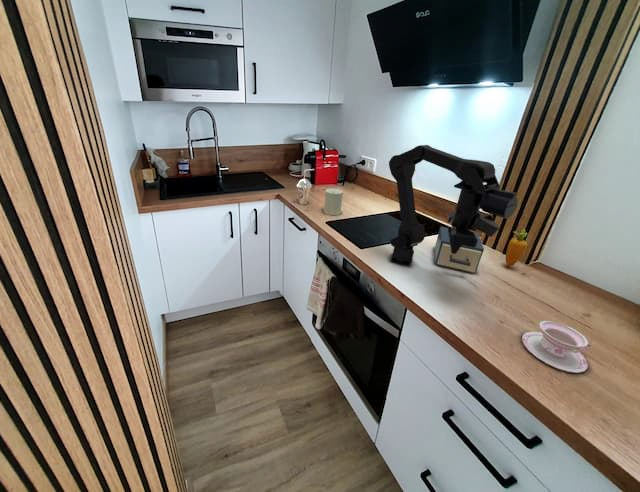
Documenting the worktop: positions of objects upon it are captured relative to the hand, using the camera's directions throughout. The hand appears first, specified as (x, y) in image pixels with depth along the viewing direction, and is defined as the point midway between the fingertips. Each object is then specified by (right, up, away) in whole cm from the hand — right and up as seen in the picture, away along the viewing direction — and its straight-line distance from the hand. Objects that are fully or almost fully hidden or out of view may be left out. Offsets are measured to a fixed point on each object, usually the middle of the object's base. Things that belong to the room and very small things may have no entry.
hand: (453, 253), depth 88 cm
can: (-26, +15, +62) cm, 69 cm away
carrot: (+30, -7, +16) cm, 35 cm away
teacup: (+12, -22, -19) cm, 32 cm away
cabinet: (+12, -5, +20) cm, 24 cm away
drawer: (+10, -5, +16) cm, 20 cm away
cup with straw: (-40, +20, +74) cm, 86 cm away
